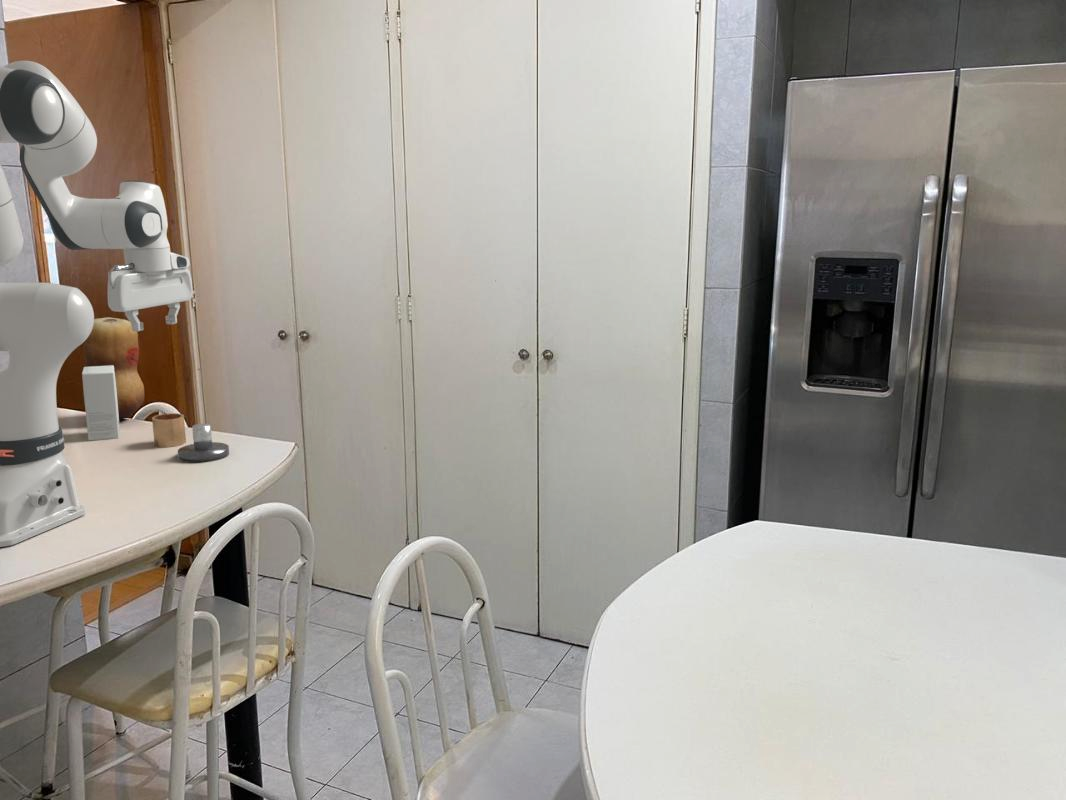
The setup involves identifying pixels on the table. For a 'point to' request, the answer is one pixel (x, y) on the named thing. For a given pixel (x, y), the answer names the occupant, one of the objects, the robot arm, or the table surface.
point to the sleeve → (169, 430)
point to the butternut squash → (117, 360)
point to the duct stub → (203, 446)
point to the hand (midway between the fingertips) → (155, 327)
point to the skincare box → (101, 402)
